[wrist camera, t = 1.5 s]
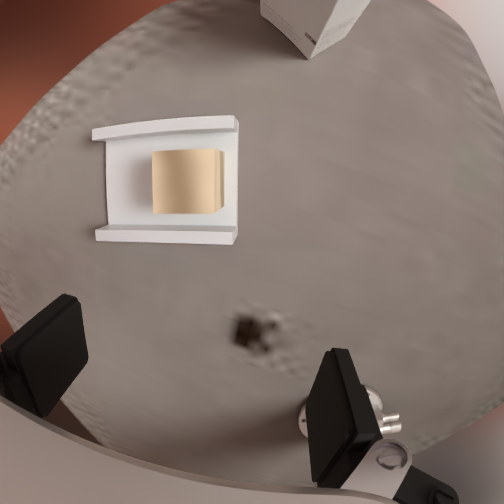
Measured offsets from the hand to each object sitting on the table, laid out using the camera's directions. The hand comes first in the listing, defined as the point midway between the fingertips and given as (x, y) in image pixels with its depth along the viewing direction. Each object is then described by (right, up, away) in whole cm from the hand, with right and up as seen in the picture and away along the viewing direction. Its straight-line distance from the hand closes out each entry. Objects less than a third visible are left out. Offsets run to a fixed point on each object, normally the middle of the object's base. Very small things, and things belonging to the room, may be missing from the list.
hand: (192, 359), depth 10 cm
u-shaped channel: (-7, +12, +21) cm, 25 cm away
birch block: (-3, +11, +20) cm, 23 cm away
